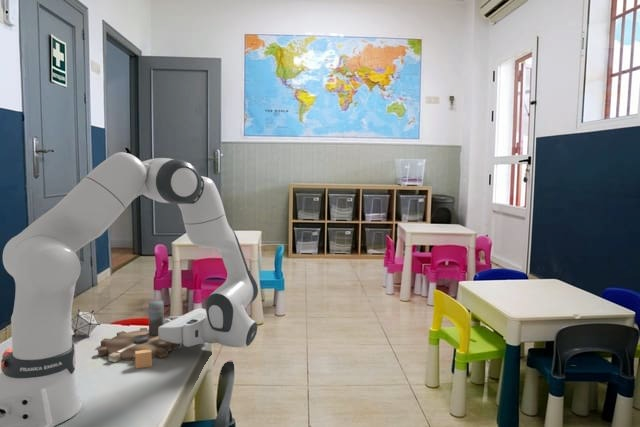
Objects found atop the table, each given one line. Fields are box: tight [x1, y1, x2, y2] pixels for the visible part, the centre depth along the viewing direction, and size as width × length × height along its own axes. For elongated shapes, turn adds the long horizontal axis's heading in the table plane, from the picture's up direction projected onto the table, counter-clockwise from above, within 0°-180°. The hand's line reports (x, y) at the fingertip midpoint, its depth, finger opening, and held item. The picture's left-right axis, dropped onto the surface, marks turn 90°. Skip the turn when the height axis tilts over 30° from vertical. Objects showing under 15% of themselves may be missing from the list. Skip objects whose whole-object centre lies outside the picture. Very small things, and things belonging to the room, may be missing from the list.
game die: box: [71, 309, 101, 339], centre depth 146 cm, size 9×8×10 cm
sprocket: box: [97, 299, 182, 363], centre depth 138 cm, size 23×23×12 cm
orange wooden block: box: [134, 349, 153, 369], centre depth 126 cm, size 4×2×4 cm, turn 114°
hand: (165, 320), depth 142 cm, fingers closed
